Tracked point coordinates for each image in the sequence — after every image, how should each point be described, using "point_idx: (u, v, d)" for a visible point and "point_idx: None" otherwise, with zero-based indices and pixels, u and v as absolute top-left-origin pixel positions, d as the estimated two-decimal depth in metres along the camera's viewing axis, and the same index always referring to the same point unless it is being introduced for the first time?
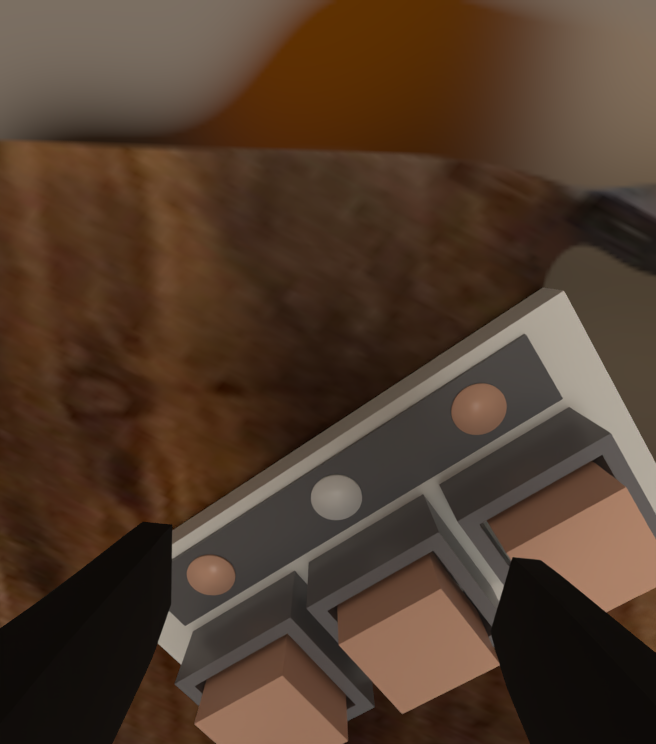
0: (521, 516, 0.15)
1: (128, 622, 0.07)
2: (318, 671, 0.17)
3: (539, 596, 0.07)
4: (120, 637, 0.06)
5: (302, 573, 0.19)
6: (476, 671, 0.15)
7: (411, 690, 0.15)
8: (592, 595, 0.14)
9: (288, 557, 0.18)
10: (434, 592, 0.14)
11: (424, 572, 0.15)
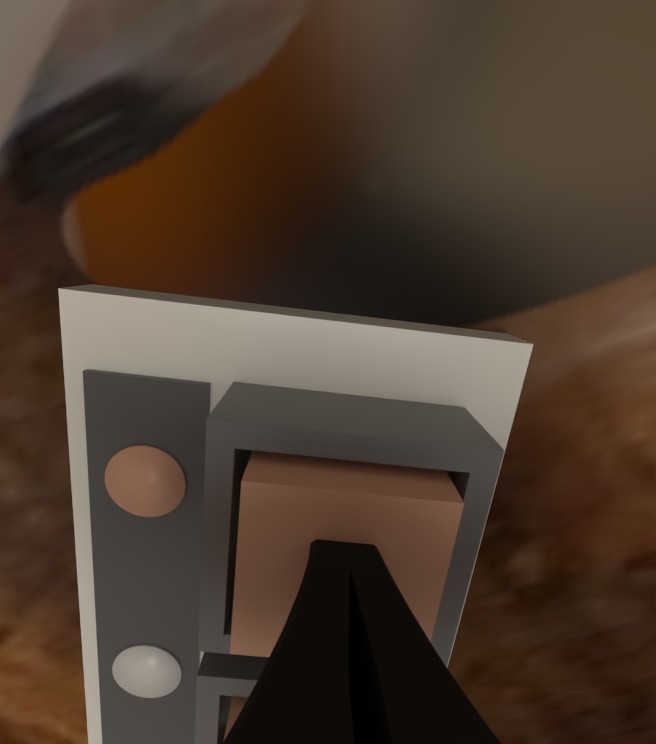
0: None
1: None
2: None
3: (349, 579, 0.07)
4: None
5: None
6: None
7: None
8: None
9: None
10: None
11: None
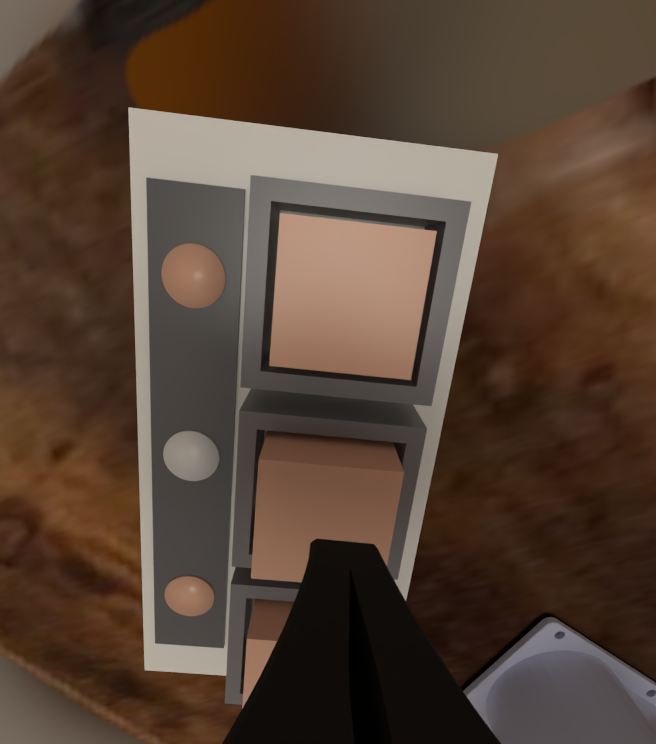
0: None
1: None
2: None
3: (349, 579, 0.07)
4: None
5: None
6: (391, 497, 0.12)
7: None
8: (386, 325, 0.12)
9: (222, 533, 0.17)
10: (258, 467, 0.12)
11: None
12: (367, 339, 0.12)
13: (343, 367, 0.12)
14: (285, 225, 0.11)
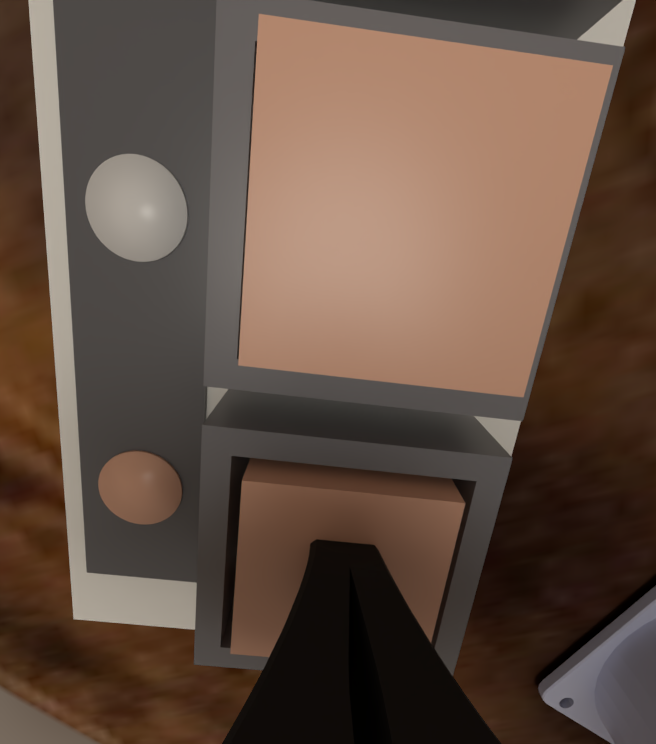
0: None
1: None
2: None
3: (349, 579, 0.07)
4: None
5: None
6: (573, 143, 0.05)
7: (482, 329, 0.06)
8: None
9: (193, 371, 0.10)
10: (257, 41, 0.05)
11: None
12: None
13: None
14: None
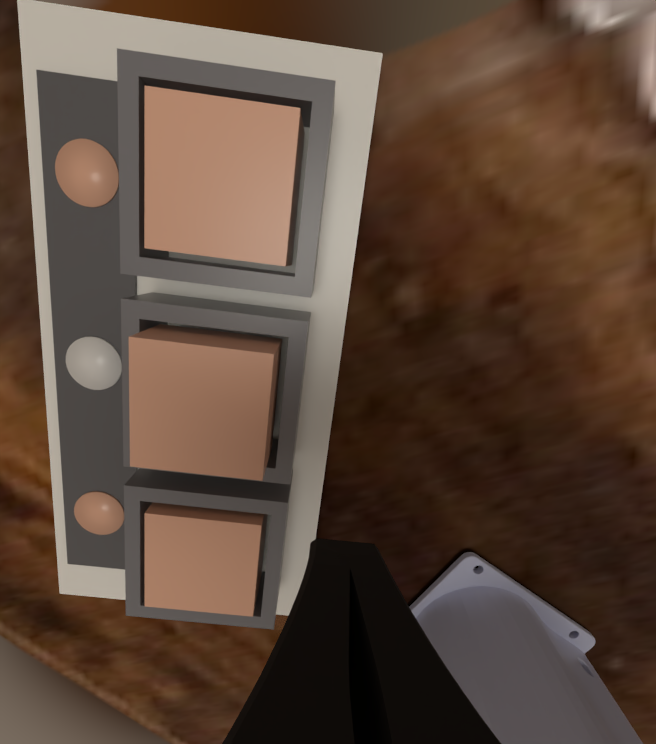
0: None
1: None
2: None
3: (349, 579, 0.07)
4: None
5: None
6: (263, 381, 0.12)
7: (238, 452, 0.13)
8: (257, 206, 0.12)
9: None
10: None
11: None
12: (239, 221, 0.12)
13: (217, 251, 0.12)
14: (150, 99, 0.11)
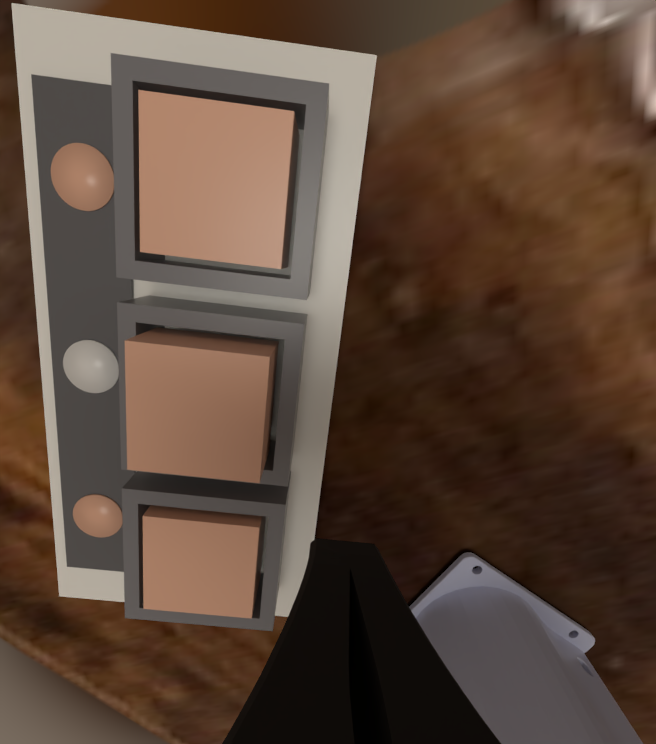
0: None
1: None
2: None
3: (349, 579, 0.07)
4: None
5: None
6: (259, 384, 0.12)
7: (235, 454, 0.13)
8: (252, 209, 0.12)
9: None
10: None
11: None
12: (234, 224, 0.12)
13: (213, 254, 0.12)
14: (144, 103, 0.11)
